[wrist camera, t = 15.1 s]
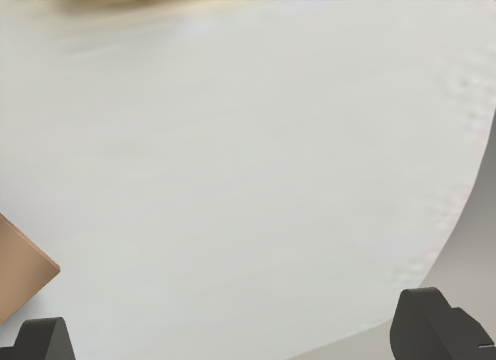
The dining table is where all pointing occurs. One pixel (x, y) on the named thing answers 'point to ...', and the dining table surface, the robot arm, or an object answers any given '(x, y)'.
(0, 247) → the stand
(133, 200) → the dining table surface
